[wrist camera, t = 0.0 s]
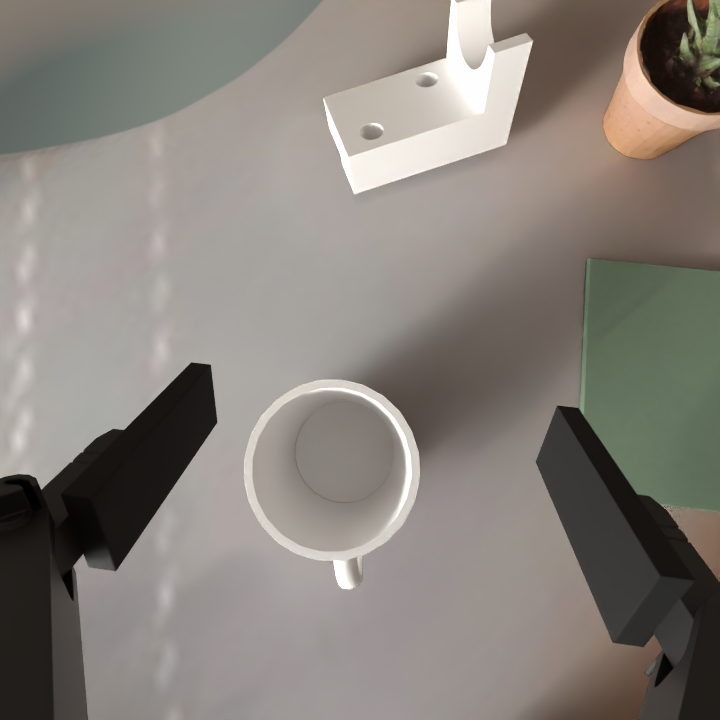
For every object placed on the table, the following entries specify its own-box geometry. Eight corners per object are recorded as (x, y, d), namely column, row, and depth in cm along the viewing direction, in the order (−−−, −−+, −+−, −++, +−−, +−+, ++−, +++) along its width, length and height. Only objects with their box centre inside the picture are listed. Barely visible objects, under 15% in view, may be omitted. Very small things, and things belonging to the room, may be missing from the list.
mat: (744, 514, 29) (752, 516, 28) (575, 492, 29) (579, 494, 29) (742, 276, 31) (749, 273, 30) (586, 260, 32) (590, 257, 31)
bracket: (470, 91, 35) (486, -15, 28) (506, 144, 32) (532, 40, 25) (331, 137, 35) (311, 41, 28) (354, 194, 32) (339, 103, 25)
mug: (280, 400, 31) (234, 392, 21) (394, 383, 31) (404, 367, 20) (297, 548, 29) (258, 619, 19) (417, 530, 29) (442, 592, 19)
